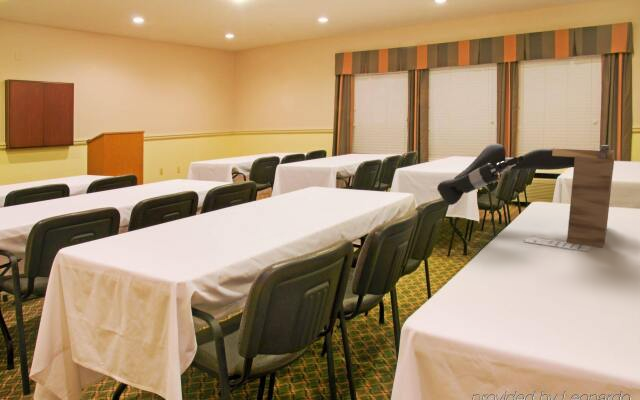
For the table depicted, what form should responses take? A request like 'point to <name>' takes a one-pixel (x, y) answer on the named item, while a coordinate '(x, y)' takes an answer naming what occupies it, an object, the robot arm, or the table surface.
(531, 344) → the table surface
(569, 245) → the letter
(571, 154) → the block
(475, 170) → the robot arm
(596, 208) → the brown piece
